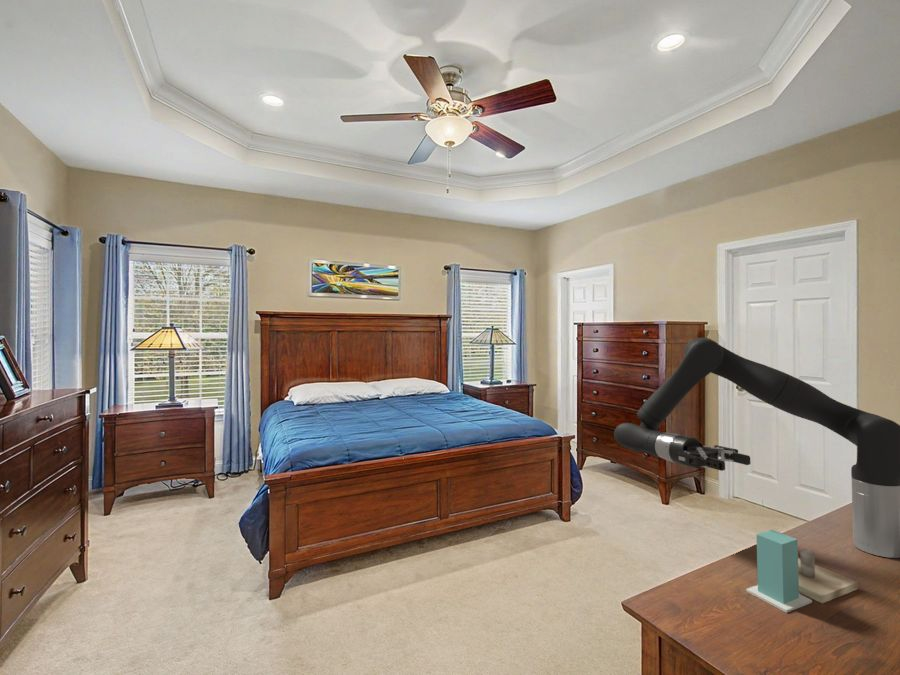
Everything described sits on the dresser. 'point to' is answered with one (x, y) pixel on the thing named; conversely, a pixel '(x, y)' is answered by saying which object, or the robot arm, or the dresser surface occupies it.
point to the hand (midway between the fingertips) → (736, 463)
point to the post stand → (821, 580)
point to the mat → (784, 607)
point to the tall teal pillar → (777, 566)
